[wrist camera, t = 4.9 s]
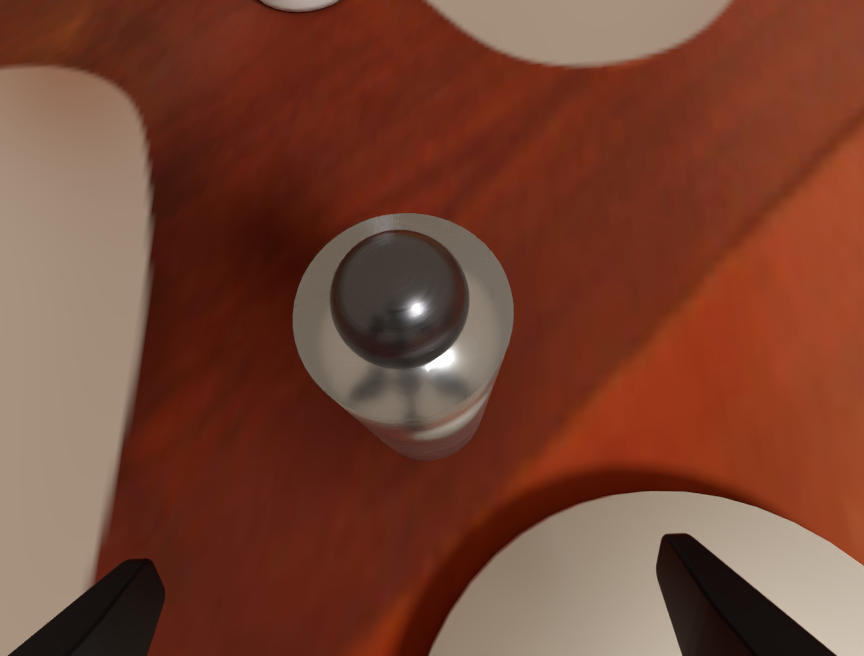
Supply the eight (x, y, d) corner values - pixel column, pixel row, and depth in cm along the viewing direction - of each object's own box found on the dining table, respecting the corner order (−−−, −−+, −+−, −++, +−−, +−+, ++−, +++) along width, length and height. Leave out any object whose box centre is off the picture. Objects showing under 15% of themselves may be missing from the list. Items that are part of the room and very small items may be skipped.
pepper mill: (430, 486, 20) (396, 464, 8) (345, 406, 22) (206, 280, 9) (507, 397, 21) (581, 257, 9) (422, 325, 23) (389, 118, 10)
